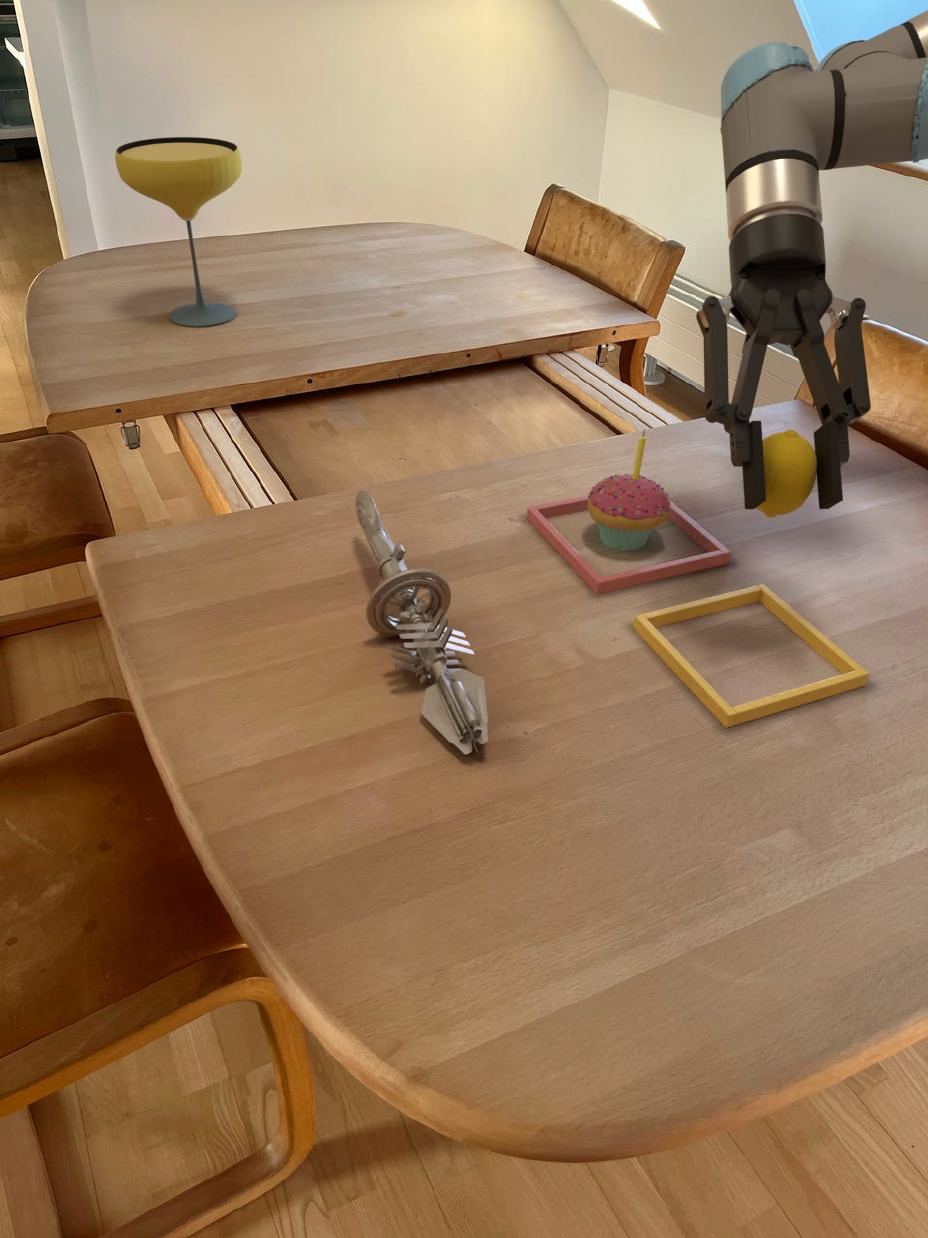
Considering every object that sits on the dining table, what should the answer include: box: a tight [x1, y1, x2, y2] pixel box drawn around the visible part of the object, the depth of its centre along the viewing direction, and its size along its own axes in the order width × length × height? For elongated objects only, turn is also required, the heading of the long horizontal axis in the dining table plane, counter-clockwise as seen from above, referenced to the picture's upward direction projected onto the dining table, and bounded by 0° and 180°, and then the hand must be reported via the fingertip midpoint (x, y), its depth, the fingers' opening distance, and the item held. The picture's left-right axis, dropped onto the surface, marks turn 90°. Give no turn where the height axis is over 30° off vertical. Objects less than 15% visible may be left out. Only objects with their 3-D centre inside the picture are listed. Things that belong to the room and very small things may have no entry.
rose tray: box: [526, 495, 732, 595], centre depth 99 cm, size 16×16×2 cm
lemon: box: [755, 428, 817, 519], centre depth 77 cm, size 6×6×8 cm
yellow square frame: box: [632, 583, 870, 728], centre depth 84 cm, size 15×15×2 cm
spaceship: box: [355, 490, 489, 755], centre depth 84 cm, size 8×35×8 cm
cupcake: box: [587, 428, 671, 552], centre depth 96 cm, size 9×8×12 cm
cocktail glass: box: [114, 136, 243, 328], centre depth 146 cm, size 18×18×25 cm
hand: (793, 504), depth 75 cm, fingers closed on lemon, 5 cm apart
